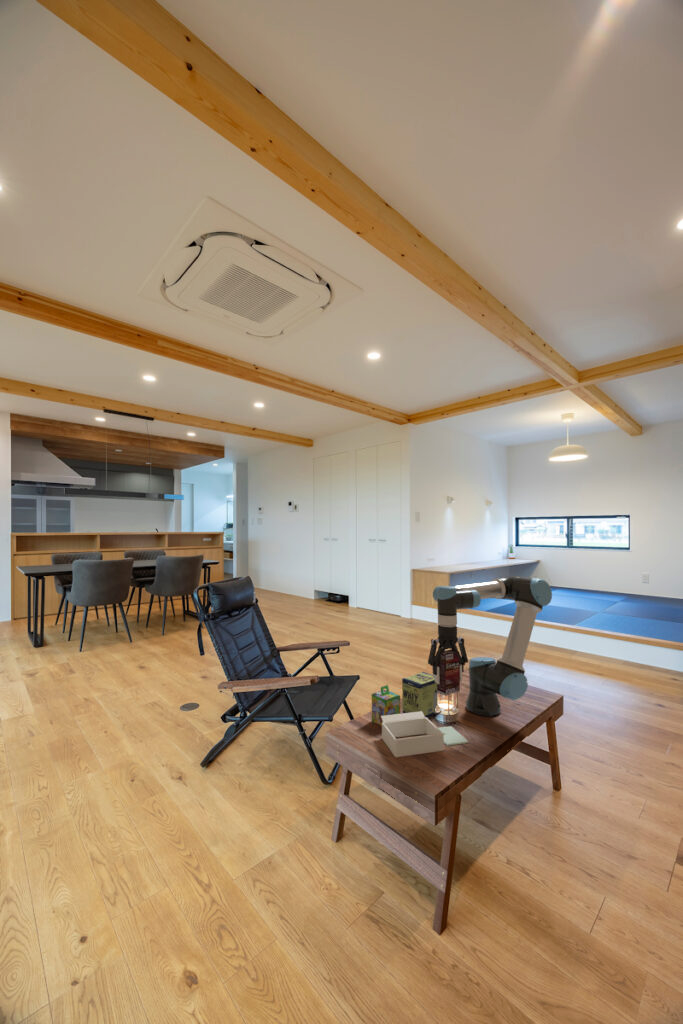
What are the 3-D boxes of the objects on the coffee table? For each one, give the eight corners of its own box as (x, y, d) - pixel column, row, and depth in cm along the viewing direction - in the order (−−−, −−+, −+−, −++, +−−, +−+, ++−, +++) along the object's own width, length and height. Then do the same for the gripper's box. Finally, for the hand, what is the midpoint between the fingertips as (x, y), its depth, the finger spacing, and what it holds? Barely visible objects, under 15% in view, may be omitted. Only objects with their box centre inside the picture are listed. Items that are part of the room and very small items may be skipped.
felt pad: (451, 727, 167) (451, 726, 167) (468, 743, 154) (468, 741, 154) (431, 730, 165) (431, 728, 165) (447, 745, 152) (447, 744, 152)
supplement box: (445, 696, 156) (445, 654, 157) (436, 692, 160) (435, 651, 161) (460, 691, 161) (459, 651, 162) (451, 687, 165) (450, 648, 166)
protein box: (401, 713, 180) (401, 678, 181) (423, 704, 190) (423, 671, 191) (420, 721, 172) (419, 684, 173) (442, 711, 182) (441, 676, 183)
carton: (423, 729, 165) (423, 710, 166) (447, 754, 146) (447, 733, 147) (379, 734, 161) (379, 715, 161) (398, 761, 141) (398, 739, 142)
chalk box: (386, 729, 166) (386, 692, 166) (370, 721, 173) (370, 686, 174) (401, 722, 171) (401, 687, 172) (385, 715, 178) (385, 681, 179)
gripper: (466, 621, 169) (467, 676, 167) (418, 624, 163) (419, 680, 162) (476, 625, 161) (478, 682, 160) (426, 628, 156) (427, 687, 155)
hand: (448, 681), depth 161 cm, fingers closed on supplement box, 9 cm apart
